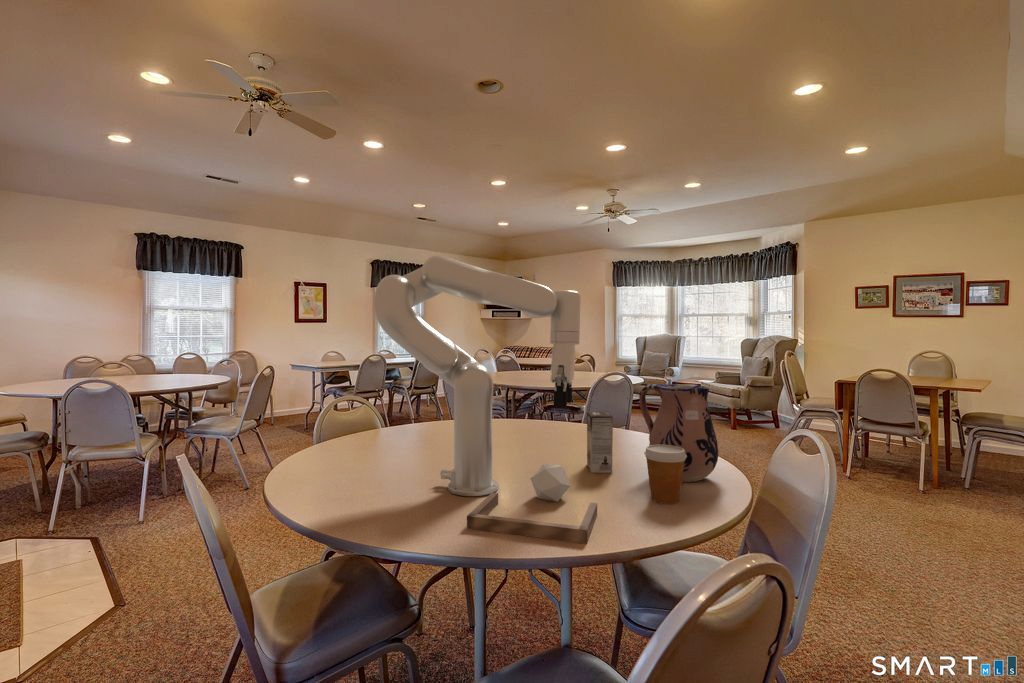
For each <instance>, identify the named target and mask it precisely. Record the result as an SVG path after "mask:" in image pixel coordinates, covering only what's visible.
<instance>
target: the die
mask: <svg viewBox="0 0 1024 683" xmlns="http://www.w3.org/2000/svg"><path fill="white" fill-rule="evenodd" d="M530 481H531V484H532V487H533V489H534V492H535V494H536V497H537V499H541V500H545V501H550V502H551V501H552V502H556V503H558V502H559V501H560V499H561V498H562V497H563V496H564V495H565V494H566V492H567V491H568V490H569V488H570V487H571V484H570V482H569V479H568V476H567V474H566V470H565V468H564V466H563V465H558V464H550V463H545V462H544V463H542V464H541V466H540V467H538V469H537V470H536V471H535V472H534V473H533V475H532V476H531V477H530Z"/></svg>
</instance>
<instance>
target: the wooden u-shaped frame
mask: <svg viewBox="0 0 1024 683" xmlns="http://www.w3.org/2000/svg"><path fill="white" fill-rule="evenodd" d="M498 505H499V493H498V492H493V493H491V494H488V496H487V497H486V498H484V499H483V501H481V502H480V503H479V504H478V505H477V506H476V507H475V508H474V509H473V510H471V512H469V513H468V514H467V515H466V528H467V529H470V530H476V531H487V532H492V533H494V532H495V533H501V534H507V535H508V534H509V535H517V536H524V537H530V538H532V537H533V538H540V539H548V540H554V541H555V540H556V541H562V542H563V541H564V542H571V543H579V544H586V545H587V544H588V542H589V538H590V536H591V533H592V531H593V528H594V526H595V522H596V520H597V517H598V503H597V502H589V505H588V507H587V509H586V511H585V514H584V516H583V519H582V521H581V524H580V525H572V524H564V523H555V522H547V521H538V520H531V519H530V520H529V519H523V518H522V519H521V518H513V517H506V516H505V517H503V516H496V515H489V514H490V513H491V512H492V511H493V510H494V509H495V508H496V507H497V506H498Z"/></svg>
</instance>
